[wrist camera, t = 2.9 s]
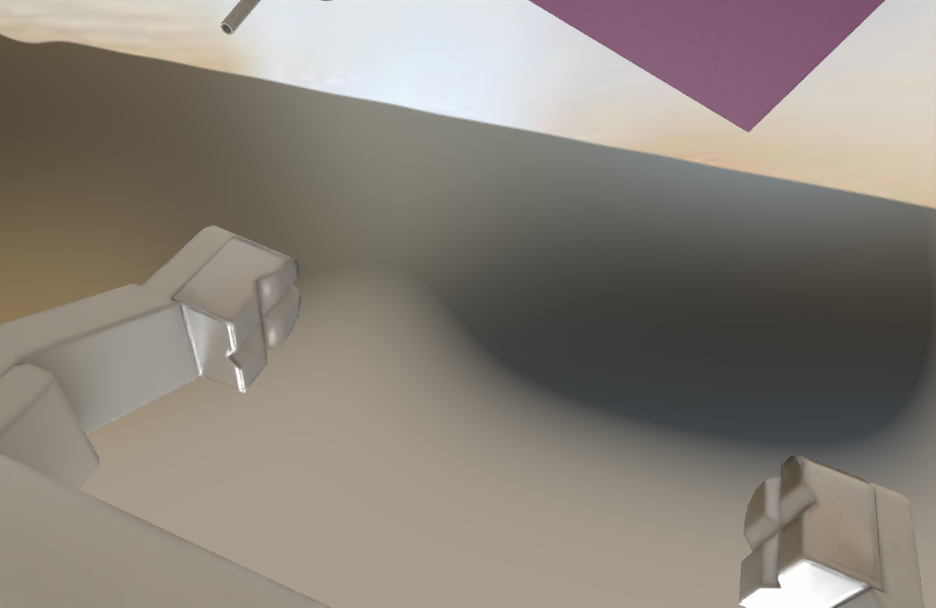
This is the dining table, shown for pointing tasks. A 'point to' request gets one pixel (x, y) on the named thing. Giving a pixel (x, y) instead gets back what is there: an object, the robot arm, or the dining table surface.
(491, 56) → the dining table surface
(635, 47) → the box file lid
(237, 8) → the beverage cup
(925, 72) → the dining table surface
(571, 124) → the dining table surface
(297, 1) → the dining table surface
